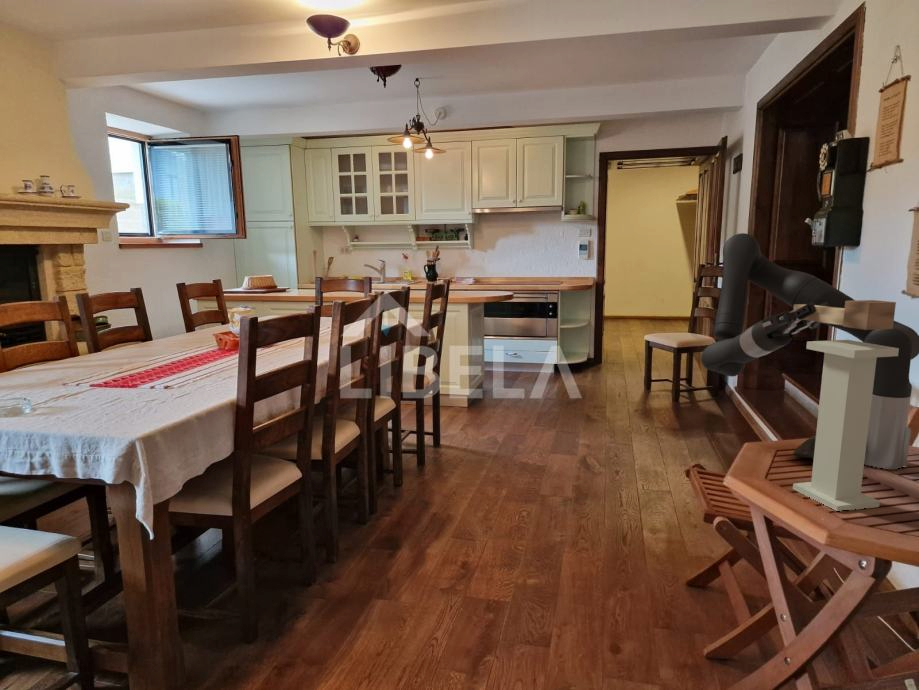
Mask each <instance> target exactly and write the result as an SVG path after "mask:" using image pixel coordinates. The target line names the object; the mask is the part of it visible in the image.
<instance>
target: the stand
mask: <svg viewBox="0 0 919 690" xmlns="http://www.w3.org/2000/svg"><path fill="white" fill-rule="evenodd" d="M805 347H806V350H811V351H816V352H821V353H824V355H823V366H822V374H821V382H820V383H821V385H820V394H819V401H818V402H819V404H818V413H817V422H816V423H817V424H816V433H815V436H816V441H815V451H814V459H812V460H813V461H812V462H813V463H812V471H811V472H812V473H811V481H806V482H795V483H793V484H792V490H794V491H796V492H797V493H800V494H801V495H803V494H804V495H803V496H805V497H807V498H809V497H810V499H811V500H813V499H814V500H813V501H815V500H816V501H815V502H817V501H818V502H817V503H819V502H820V503H819V504H821V503H822V504H821V505H823V504H824V505H823V506H824V507H826V506H828V507H830V508H832V509H834V510H836V511H840V512H843V511H842V510H849V511H856V510H865V509H864V508H866V509H874V508H879V507H880V502H881V501H880V500H879V499H876V498H873V497H872V496H869V495H867V494H866V493H863V492H862V483H863V476H864V474H863V473H864V469H865V468H864V467H865V465H864V460H865V452H866V443H867V435H868V426H869V418H870V409H871V401H872V392H873V384H874V376H875V367H876V359H877V357H892V356H898V352H899V348H894V347H888V346H882V345H876V344H870V343H864V342H862V341H857V340H853V339H852V340H851V339H835V340H813V341H806V346H805ZM828 507H827V508H828ZM830 508H829V509H830ZM832 509H831V510H832ZM855 509H856V510H855ZM834 510H833V511H834ZM836 511H835V512H836Z"/></svg>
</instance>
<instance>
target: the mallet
mask: <svg viewBox="0 0 919 690" xmlns="http://www.w3.org/2000/svg"><path fill="white" fill-rule="evenodd" d="M854 300H855V299H854ZM805 305H807V304H795V305H794V308H793V310H795V309H799V308H801V307H803V306H805ZM896 305H897V302H896V301H887V300H875V299H864V300H863V299H862V300H860V299H859V300H855V301H845V308H836V307H827V306H818V305H815V309H816V312H815V313H813V314H811V315H810V316H808V317H806V318H804V319H802V320H809V321H816V322H823V323H830V324H837V325H843V327H849V328H856V329H863V330H876V329H893V322H894V321H895V314H896ZM823 323H822V324H823Z"/></svg>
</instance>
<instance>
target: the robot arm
mask: <svg viewBox="0 0 919 690" xmlns="http://www.w3.org/2000/svg"><path fill="white" fill-rule="evenodd" d="M760 247H761V246H760V244H759V242H758V240H757V239H756V237H754V235H751V234H749V233H742V232H741V233H735V234H734V235H732V236H731V237H729V238H728V239H727V240H726V242H725V243H724V245H723V249H722V257H723V258H722V260H723V270H722V280H721V281H722V283H721V290H720V296H719V299H718V300H719V301H718V306H717V311H716V317H715V322H714V327H713V336H714V337H715V338H716V339H717V340H719V341H715V342H713V343H710V344H709V345H708V346H706V347H705V348H704V349H703V351H702V352H701V355H700V356H701V357H700V361H701V364H702V366H703V368H705V369H707V370H709V371H712V372H714V373H715V372H716V373H718V374H721V375H724V376H728V377H731V378H732V377H736V376H738V375H739V374H741V372H742V371H743V370H744V368H745V366H746V364H747V363H750V362H752V361H754V360H756V359H759V358H760V357H763V356H767V355H768V354H771V353H772V352H775V351H777V350H780V349H781V348H784V346H785V347H786V345H788V344H790V343H791V341H792V339H793V336H794V335H796V334H797V333H800V332H801V331H802V330H804V329H807V328H809V330H814V329H816V328H818V326H820V324H824V325H827V326H829V327H832V328H835V329H838V330H841V331H843V332H846V333H847V334H850V335H852V336H853V337H855V338H856V339H858V340H859V341H860V342H864V343H870V344H876V345H882V346H888V347H894V348H899V352H898V356H892V357H877V359H876V367H875V376H874V384H873V392H872V401H871V409H870V418H869V426H868V435H867V443H866V452H865V460H864V464H865V465H864V466H867V465H869V466H868V467H870V466H873V467H872V468H875V467H877V468H876V469H880V468H883V469H882V470H899V469H898V468H900V467H903V466H906V467H907V465H908V457H909V450H910V449H909V448H910V443H911V442H910V441H911V433H912V429H911V428H910V427H909V426H908V421H909V413H910V405H911V399H912V398H911V397H912V393H913V392H912V391H913V390H912V389H913V386H912V383H911V382H910V369H911V361H912V360H914V359H915V358H916V357H918V355H919V334H918V332H916V330H914V329H913V328H912V327H910V326H909V325H905V324H903V323H901V322H899V321H896V320H894V322H893V329H876V330H863V329H856V328H849V327H843V325H837V324H830V323H823V322H816V321H809V320H802V319H804V318H806V317H808V316H810V315H811V314H813V313H815V312H816V309H815V305H818V306H827V307H836V308H845V301H855V299H854V298H852V297H851V296H849V295H848V294H846V293H844V292H843V291H841V290H839V289H838V288H836V287H835V286H833V285H831V284H830V283H827V282H825V281H824V280H822V279H821V278H818V277H817V276H815V275H812V274H810V273H807V272H803V271H798V270H792V269H788V268H785V267H782V266H780V265H778V264H777V263H775V262H773V261H772V260H771V259H768V258H767V257H766V256H765V255H764V254H763V253H762V251H761V248H760ZM748 282H750V283H752V284H754V285H757V286H758V287H760V288H761V289H763V290H766V291H767V292H768V293H770V294H772V295H773V296H774V297H775V298H777V299H778V300H781V301H782V302H784V303H785V304H786V305H788V306H790V308H792V310H791V311H789V310H784V311H782V312H780V313H777V314H775V315H769V316H767V317H765V318H763V319H761V320H760V321H758V322H756V323H754V324H753V325H752V326H750V327H748V328H747V329H746V330H744V327H745V323H746V322H745V320H746V315H747V314H746V313H747V291H748ZM795 304H807V305H805V306H803V307H801V308H799V309H795V310H794V305H795ZM900 469H901V468H900Z"/></svg>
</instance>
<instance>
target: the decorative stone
mask: <svg viewBox="0 0 919 690" xmlns="http://www.w3.org/2000/svg"><path fill="white" fill-rule="evenodd" d="M815 441H816V435H812V436H811V437H809V438H807V439H806V440H805V441H803V442H802V443H801V444H800V445H798V446H797V448H796V449H795V450H794V451H793V453H792V456H794V457H800V458H802V457H803V458H806V459H807V458H808V459H811V460H814V451H815Z"/></svg>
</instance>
